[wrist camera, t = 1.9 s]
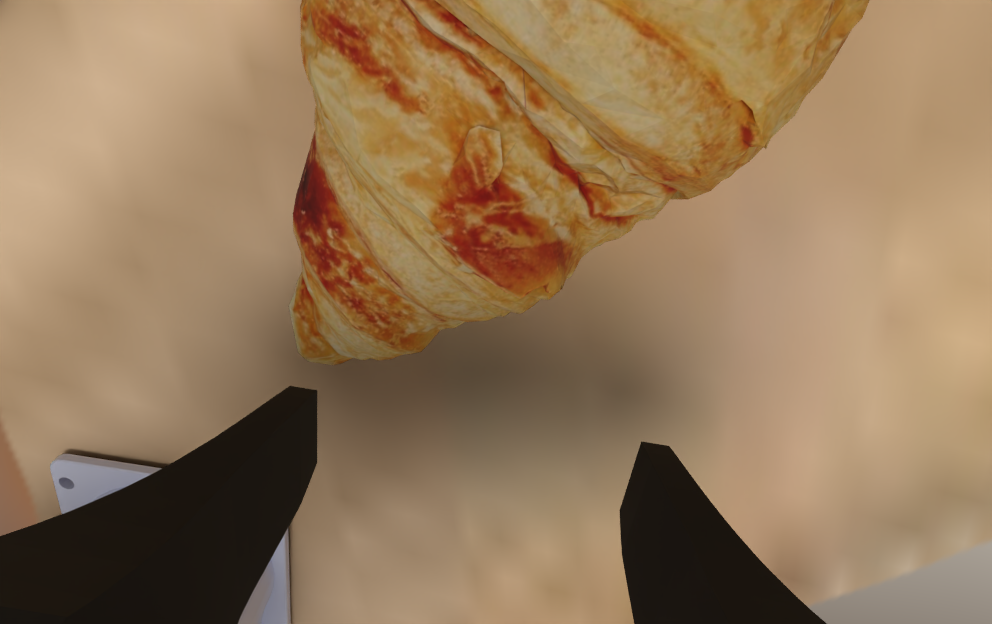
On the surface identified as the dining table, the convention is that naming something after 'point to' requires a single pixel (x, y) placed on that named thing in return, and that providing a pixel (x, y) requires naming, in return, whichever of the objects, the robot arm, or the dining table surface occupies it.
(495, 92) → the croissant
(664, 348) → the dining table surface
